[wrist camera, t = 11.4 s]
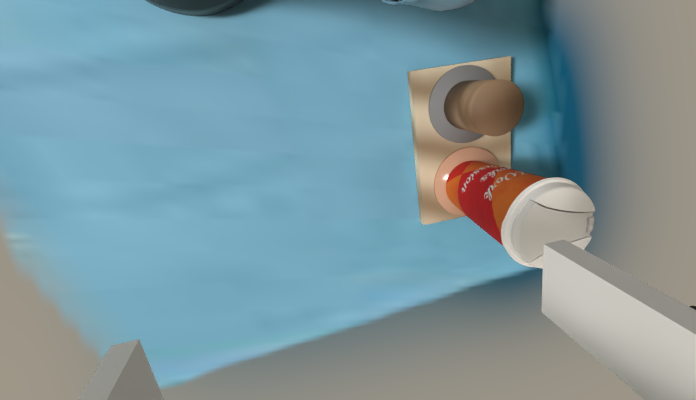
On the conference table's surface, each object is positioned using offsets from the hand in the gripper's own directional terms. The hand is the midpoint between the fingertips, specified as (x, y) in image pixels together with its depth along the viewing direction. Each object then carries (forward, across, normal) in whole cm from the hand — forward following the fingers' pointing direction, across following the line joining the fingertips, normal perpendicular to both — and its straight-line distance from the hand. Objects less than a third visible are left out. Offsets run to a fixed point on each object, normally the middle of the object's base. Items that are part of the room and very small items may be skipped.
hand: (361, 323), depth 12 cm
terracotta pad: (+28, +18, -6) cm, 33 cm away
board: (+29, +18, -2) cm, 34 cm away
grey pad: (+28, +18, +3) cm, 33 cm away
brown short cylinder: (+27, +18, +3) cm, 32 cm away
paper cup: (+27, +18, -6) cm, 33 cm away
